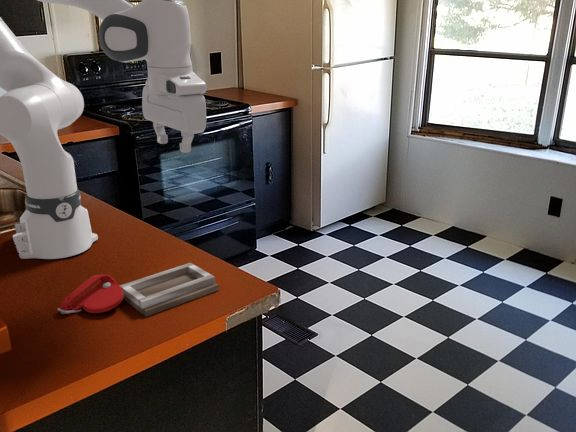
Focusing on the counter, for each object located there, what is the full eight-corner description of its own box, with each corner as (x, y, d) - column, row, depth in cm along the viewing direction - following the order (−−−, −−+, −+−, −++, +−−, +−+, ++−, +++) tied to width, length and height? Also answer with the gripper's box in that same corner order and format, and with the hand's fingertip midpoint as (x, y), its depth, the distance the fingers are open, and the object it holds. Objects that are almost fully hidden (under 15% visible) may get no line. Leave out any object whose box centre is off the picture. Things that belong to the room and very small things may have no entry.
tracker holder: (120, 316, 115) (130, 286, 124) (114, 298, 113) (125, 268, 122) (57, 323, 116) (72, 292, 125) (51, 304, 114) (66, 274, 122)
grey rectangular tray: (117, 295, 124) (116, 283, 123) (188, 271, 135) (187, 260, 134) (146, 316, 116) (145, 304, 115) (218, 290, 126) (218, 278, 125)
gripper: (132, 75, 126) (137, 140, 131) (182, 87, 112) (185, 159, 117) (159, 73, 130) (162, 136, 135) (211, 85, 116) (213, 155, 120)
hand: (173, 147), depth 126 cm, fingers open, 8 cm apart
